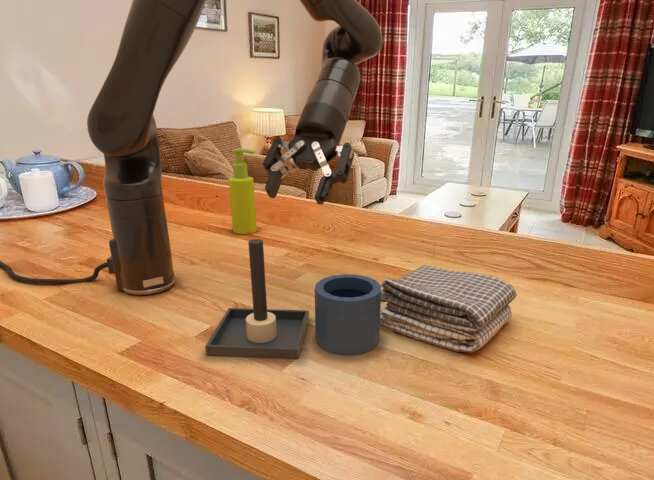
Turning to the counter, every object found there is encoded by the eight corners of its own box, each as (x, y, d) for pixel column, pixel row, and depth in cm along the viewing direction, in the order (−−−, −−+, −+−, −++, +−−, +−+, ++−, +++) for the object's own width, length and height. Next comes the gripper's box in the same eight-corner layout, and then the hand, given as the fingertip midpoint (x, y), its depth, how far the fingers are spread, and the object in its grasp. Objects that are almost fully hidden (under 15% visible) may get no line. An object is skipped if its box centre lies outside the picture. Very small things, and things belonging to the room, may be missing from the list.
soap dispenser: (255, 235, 120) (250, 151, 112) (229, 233, 121) (221, 150, 113) (264, 228, 125) (259, 148, 118) (238, 226, 127) (232, 147, 119)
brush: (244, 342, 72) (235, 245, 66) (250, 328, 76) (243, 235, 70) (273, 343, 72) (268, 246, 66) (279, 329, 76) (274, 236, 70)
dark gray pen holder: (312, 357, 69) (311, 299, 66) (319, 325, 78) (318, 273, 74) (379, 359, 69) (381, 302, 65) (378, 327, 78) (380, 275, 74)
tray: (206, 358, 69) (205, 346, 68) (229, 318, 80) (228, 307, 79) (298, 361, 68) (298, 349, 67) (309, 321, 79) (308, 310, 78)
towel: (479, 361, 69) (486, 311, 66) (369, 324, 78) (370, 279, 75) (513, 320, 80) (521, 276, 77) (414, 292, 90) (416, 252, 87)
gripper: (279, 98, 81) (244, 180, 76) (359, 101, 76) (328, 189, 71) (295, 128, 88) (264, 206, 82) (370, 133, 83) (342, 216, 77)
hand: (293, 198), depth 76 cm, fingers open, 8 cm apart
